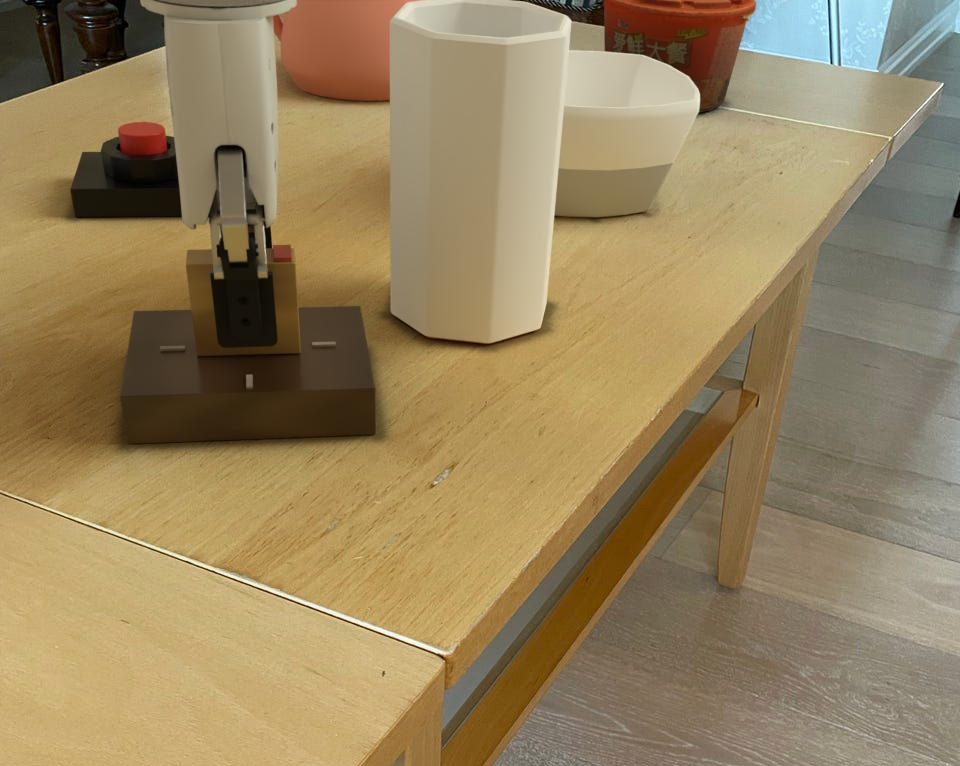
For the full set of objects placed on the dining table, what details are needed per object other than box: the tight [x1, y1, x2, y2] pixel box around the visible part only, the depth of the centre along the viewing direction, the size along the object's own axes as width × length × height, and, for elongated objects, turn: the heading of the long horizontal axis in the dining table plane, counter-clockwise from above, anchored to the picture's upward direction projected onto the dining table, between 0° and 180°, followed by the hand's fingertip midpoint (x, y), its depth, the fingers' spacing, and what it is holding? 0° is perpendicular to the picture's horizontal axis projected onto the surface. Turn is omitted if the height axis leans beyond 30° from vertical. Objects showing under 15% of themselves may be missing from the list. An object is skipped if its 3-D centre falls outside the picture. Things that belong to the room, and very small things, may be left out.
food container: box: [603, 0, 757, 113], centre depth 120 cm, size 16×16×11 cm
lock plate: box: [119, 305, 377, 445], centre depth 69 cm, size 14×11×3 cm
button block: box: [69, 135, 218, 218], centre depth 93 cm, size 11×9×4 cm
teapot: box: [273, 0, 422, 102], centre depth 119 cm, size 25×17×13 cm
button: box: [117, 121, 167, 155], centre depth 92 cm, size 4×4×2 cm
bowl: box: [554, 49, 700, 218], centre depth 97 cm, size 18×18×9 cm
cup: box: [389, 0, 572, 345], centre depth 75 cm, size 11×11×18 cm
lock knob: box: [185, 244, 301, 356], centre depth 66 cm, size 6×2×6 cm, turn 99°
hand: (247, 306), depth 67 cm, fingers open, 9 cm apart
